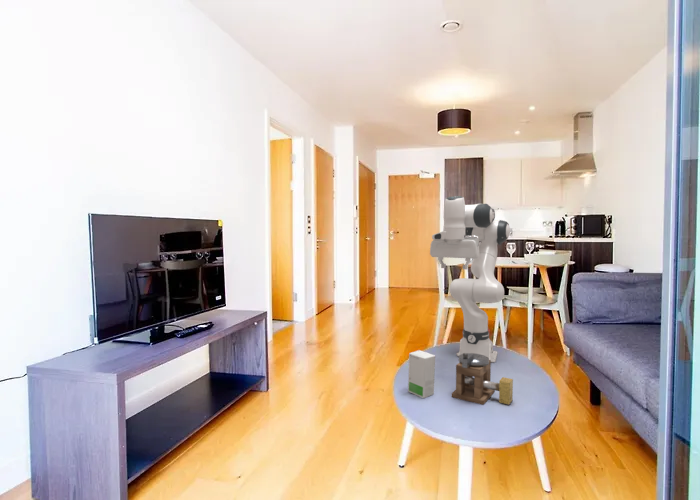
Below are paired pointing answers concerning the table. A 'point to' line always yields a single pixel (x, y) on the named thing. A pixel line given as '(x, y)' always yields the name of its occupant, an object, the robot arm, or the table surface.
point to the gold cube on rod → (497, 388)
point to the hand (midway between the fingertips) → (454, 268)
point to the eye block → (477, 391)
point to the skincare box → (421, 373)
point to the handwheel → (473, 360)
